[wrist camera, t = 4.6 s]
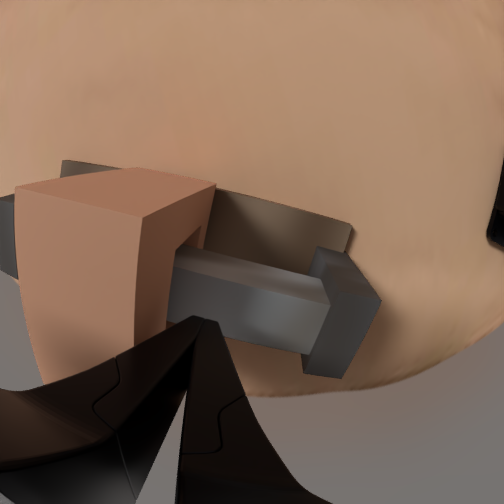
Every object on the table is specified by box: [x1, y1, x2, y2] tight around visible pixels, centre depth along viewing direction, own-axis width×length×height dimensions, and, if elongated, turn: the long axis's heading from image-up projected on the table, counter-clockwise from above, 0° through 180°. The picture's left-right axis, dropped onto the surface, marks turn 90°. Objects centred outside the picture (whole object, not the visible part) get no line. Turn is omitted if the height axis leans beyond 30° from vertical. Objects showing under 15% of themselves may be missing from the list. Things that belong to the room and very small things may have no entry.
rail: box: [0, 160, 382, 379], centre depth 12 cm, size 16×6×5 cm, turn 76°
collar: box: [14, 168, 216, 385], centre depth 10 cm, size 4×7×8 cm, turn 166°
